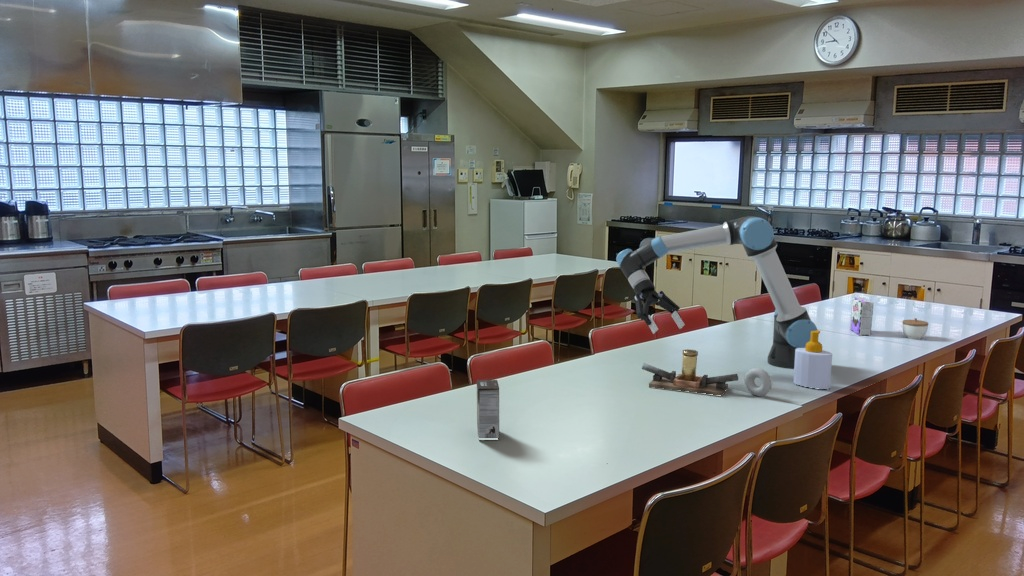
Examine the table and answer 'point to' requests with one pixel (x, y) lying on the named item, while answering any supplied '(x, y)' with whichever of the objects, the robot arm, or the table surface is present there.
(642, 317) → the robot arm
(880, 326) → the table surface
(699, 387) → the shaft stand
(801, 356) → the soap bottle
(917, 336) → the lidded jar
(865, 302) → the candy box
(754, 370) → the donut
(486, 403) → the coffee box
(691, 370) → the cylinder
